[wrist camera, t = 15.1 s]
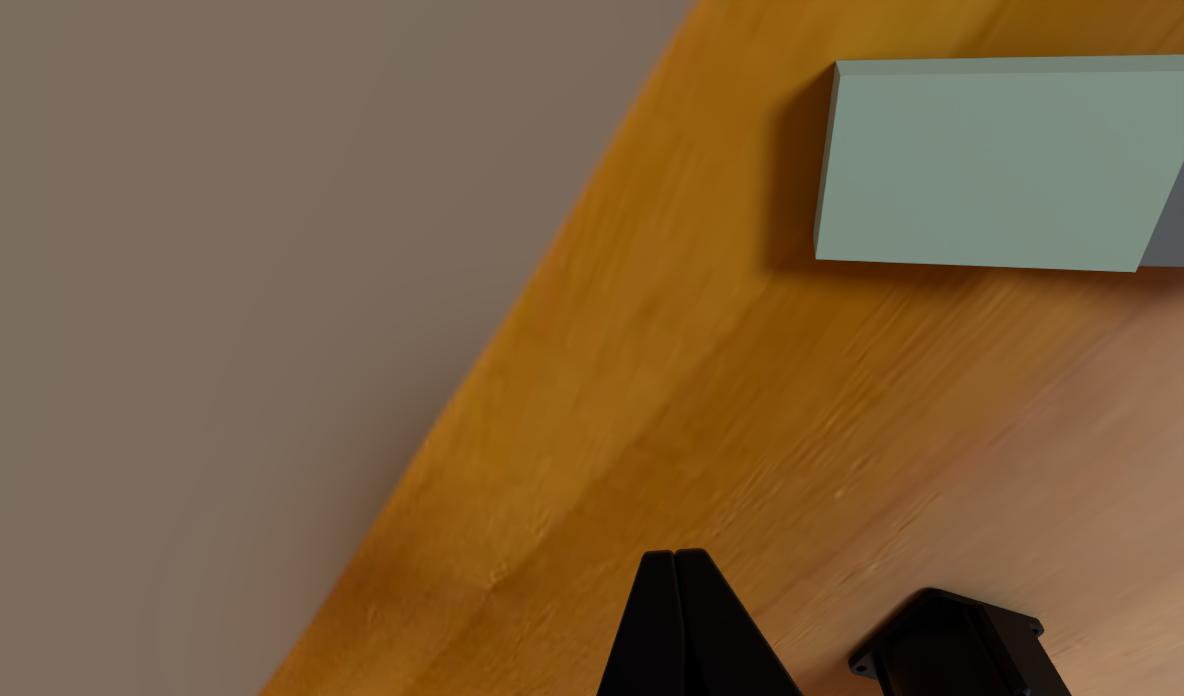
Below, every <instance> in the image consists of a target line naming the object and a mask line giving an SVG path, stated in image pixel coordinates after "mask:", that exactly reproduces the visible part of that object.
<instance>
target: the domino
mask: <svg viewBox="0 0 1184 696" xmlns="http://www.w3.org/2000/svg"><path fill="white" fill-rule="evenodd" d="M1138 266H1162V267H1184V162H1183V164H1182V166H1181V169H1180V171H1179V173H1178V175H1177V178H1176V180H1175V182H1174V185H1173V187H1172V189H1171V192H1170V194H1169V196H1168V199H1167V201H1166V203H1165V205H1164V208H1163V210H1162V212H1161V215H1160V217H1159V219H1158V222H1157V224H1156V226H1155V229H1154V231H1153V233H1152V235H1151V238H1150V240H1149V242H1148V245H1147V247H1146V249H1145V252H1144V254H1143V256H1142V259H1141V261H1140V263H1139V265H1138Z"/></svg>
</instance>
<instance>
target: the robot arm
mask: <svg viewBox="0 0 1184 696" xmlns="http://www.w3.org/2000/svg"><path fill="white" fill-rule="evenodd" d="M1043 633H1044V628H1043V626H1042V625H1041V623H1040V621H1039V620H1038V619H1036V618H1033V617H1029V616H1026V615H1023V614H1020V613H1016V612H1013V611H1010V610H1007V609H1003V608H1000V607H997V606H993V605H990V604H987V603H984V602H980V601H977V600H974V599H970V598H967V597H964V596H961V595H957V594H954V593H951V592H948V591H944V590H941V589H930V590H928V591H926V592H924V593H923V594H922V595H921V596H920V597H918V598H917V599H916V600H915V601H914V602H913V603H912V604H911V605H910V606H908V607H907V608H906V609H905V610H904V611H903V612H902V613H901V614H899V615H898V616H897V617H896V618H895V619H894V620H893V621H892V622H891V623H889V624H888V625H887V626H886V627H885V628H884V629H883V630H882V631H880V632H879V633H878V634H877V635H876V636H875V637H874V638H873V639H871V640H870V641H869V642H868V643H867V644H866V645H865V646H864V647H863V648H861V649H860V650H859V651H858V652H857V653H856V654H855V655H854V656H852V657H851V658H850V659H849V661H848V664H849V667H850V670H851V672H852V673H853V674H856V675H860V676H864V677H868V678H871V679H875V680H879V683H880V686H881V688H882V691H883V694H884V696H1072V695H1071V694H1070V692H1069V690H1068V689H1067V687H1066V685H1065V684H1064V682H1063V680H1062V679H1061V677H1060V675H1059V674H1058V672H1057V670H1056V669H1055V667H1054V665H1053V664H1052V662H1051V660H1050V659H1049V657H1048V655H1047V654H1046V652H1045V650H1044V649H1043V647H1042V645H1041V643H1040V642H1039V640H1038V637H1039V636H1040V635H1042V634H1043ZM596 696H803V694H802V693H801V691H800V690H799V688H798V687H797V685H796V684H795V682H794V681H793V679H792V678H791V676H790V675H789V673H788V672H787V670H786V669H785V667H784V666H783V664H782V663H781V661H780V660H779V658H778V657H777V655H776V654H775V653H774V651H773V650H772V648H771V647H770V645H769V644H768V642H767V641H766V639H765V638H764V636H763V635H762V633H761V632H760V630H759V629H758V627H757V626H756V624H755V623H754V621H753V620H752V618H751V617H750V615H749V614H748V612H747V611H746V609H745V608H744V606H743V605H742V603H741V602H740V600H739V599H738V597H737V596H736V594H735V593H734V591H733V590H732V588H731V587H730V585H729V584H728V582H727V581H726V579H725V578H724V576H723V575H722V573H721V572H720V570H719V569H718V567H717V566H716V564H715V563H714V561H713V560H712V558H711V557H710V555H709V554H708V553H707V552H706V551H705V550H704V549H702V548H692V549H679V550H677V551H676V552H675V555H674V553H673V552H672V551H670V550H658V551H647V552H645V553H644V554H643V556H642V558H641V561H640V564H639V567H638V571H637V574H636V577H635V580H634V583H633V586H632V589H631V592H630V595H629V598H628V601H627V604H626V607H625V610H624V613H623V616H622V619H621V622H620V625H619V628H618V631H617V634H616V637H615V640H614V643H613V646H612V649H611V653H610V656H609V659H608V662H607V665H606V668H605V671H604V674H603V677H602V680H601V683H600V686H599V689H598V692H597V695H596Z"/></svg>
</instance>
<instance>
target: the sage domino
mask: <svg viewBox="0 0 1184 696" xmlns="http://www.w3.org/2000/svg"><path fill="white" fill-rule="evenodd" d="M1183 162H1184V55H1136V56H1078V57H1020V58H962V59H904V60H845V61H836V62H835V70H834V78H833V85H832V93H831V101H830V108H829V116H828V124H827V131H826V139H825V147H824V154H823V162H822V170H821V177H820V185H819V193H818V200H817V208H816V216H815V223H814V231H813V240H814V249H815V258H816V259H823V260H847V261H872V262H897V263H921V264H946V265H971V266H995V267H1020V268H1045V269H1069V270H1094V271H1119V272H1136V270H1137V268H1138V265H1139V263H1140V261H1141V259H1142V256H1143V254H1144V252H1145V249H1146V247H1147V245H1148V242H1149V240H1150V238H1151V235H1152V233H1153V231H1154V229H1155V226H1156V224H1157V222H1158V219H1159V217H1160V215H1161V212H1162V210H1163V208H1164V205H1165V203H1166V201H1167V199H1168V196H1169V194H1170V192H1171V189H1172V187H1173V185H1174V182H1175V180H1176V178H1177V175H1178V173H1179V171H1180V169H1181V166H1182V164H1183Z"/></svg>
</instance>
